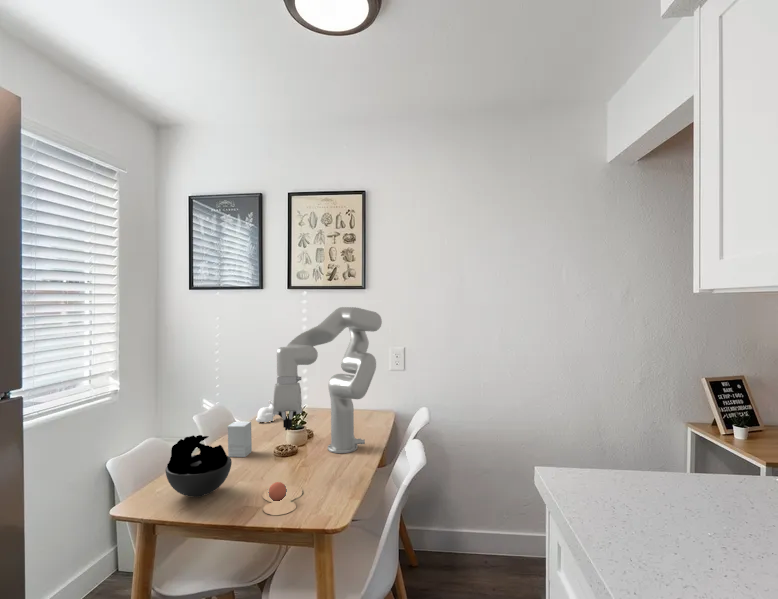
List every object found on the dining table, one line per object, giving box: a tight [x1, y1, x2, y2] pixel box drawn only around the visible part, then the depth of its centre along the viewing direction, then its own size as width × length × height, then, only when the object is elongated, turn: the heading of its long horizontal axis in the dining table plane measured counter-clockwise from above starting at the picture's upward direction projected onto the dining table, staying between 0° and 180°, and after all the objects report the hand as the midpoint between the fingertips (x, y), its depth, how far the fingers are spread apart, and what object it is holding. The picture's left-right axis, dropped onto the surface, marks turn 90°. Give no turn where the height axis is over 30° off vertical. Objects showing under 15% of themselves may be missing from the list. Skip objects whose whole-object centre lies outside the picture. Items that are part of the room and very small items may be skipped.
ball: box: [268, 481, 287, 501], centre depth 146 cm, size 6×6×6 cm
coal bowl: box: [165, 434, 233, 498], centre depth 151 cm, size 20×20×19 cm
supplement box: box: [227, 421, 253, 458], centre depth 189 cm, size 7×7×13 cm
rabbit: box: [255, 398, 276, 423], centre depth 238 cm, size 12×9×12 cm
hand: (287, 429), depth 172 cm, fingers closed
